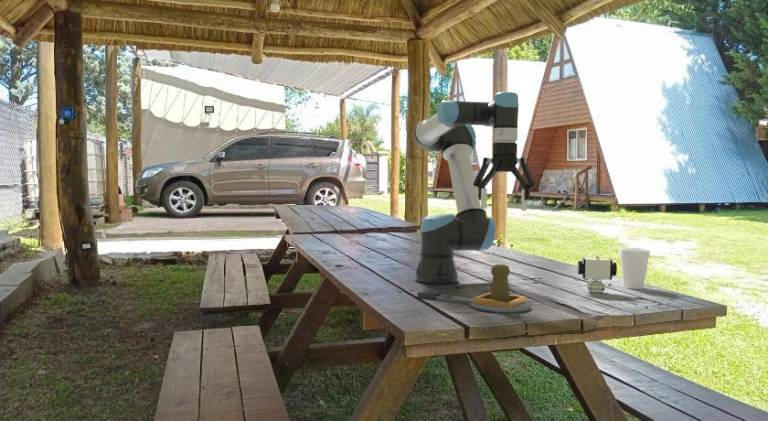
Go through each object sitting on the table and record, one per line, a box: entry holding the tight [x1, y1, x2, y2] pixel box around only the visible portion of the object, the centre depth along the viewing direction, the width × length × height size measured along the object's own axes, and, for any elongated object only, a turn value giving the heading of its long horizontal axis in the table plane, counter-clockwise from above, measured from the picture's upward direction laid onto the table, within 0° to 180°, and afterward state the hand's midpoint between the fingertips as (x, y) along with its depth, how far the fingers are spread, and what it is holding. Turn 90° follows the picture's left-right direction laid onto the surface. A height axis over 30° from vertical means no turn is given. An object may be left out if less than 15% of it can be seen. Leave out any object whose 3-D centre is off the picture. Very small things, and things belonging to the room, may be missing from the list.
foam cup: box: [619, 247, 651, 290], centre depth 214 cm, size 10×9×13 cm
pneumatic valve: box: [576, 255, 618, 294], centre depth 205 cm, size 6×12×12 cm, turn 78°
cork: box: [490, 263, 510, 302], centre depth 179 cm, size 6×6×11 cm
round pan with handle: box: [416, 289, 531, 315], centre depth 184 cm, size 34×17×3 cm, turn 56°
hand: (503, 209), depth 199 cm, fingers open, 13 cm apart
